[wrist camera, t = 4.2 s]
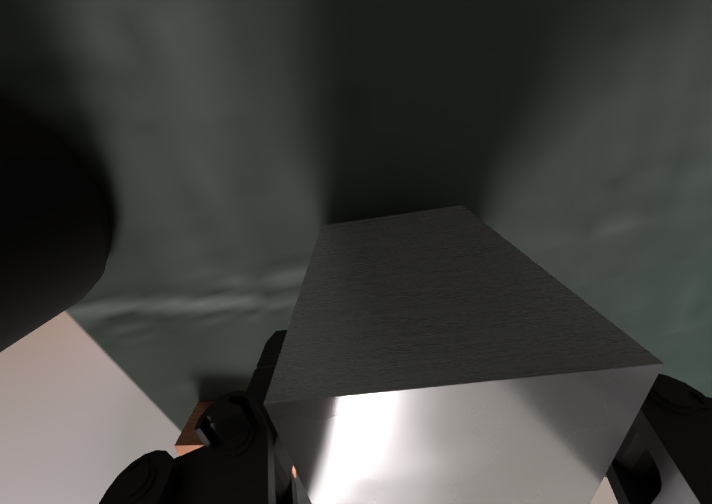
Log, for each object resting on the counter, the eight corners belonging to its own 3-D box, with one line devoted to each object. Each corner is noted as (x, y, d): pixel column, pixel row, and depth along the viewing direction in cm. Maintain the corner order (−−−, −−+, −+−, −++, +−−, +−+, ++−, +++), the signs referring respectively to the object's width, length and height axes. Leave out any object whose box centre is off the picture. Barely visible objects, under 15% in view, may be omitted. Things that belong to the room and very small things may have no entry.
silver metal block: (321, 225, 11) (263, 404, 4) (462, 205, 11) (664, 363, 4) (344, 329, 14) (334, 548, 7) (458, 316, 14) (573, 533, 6)
